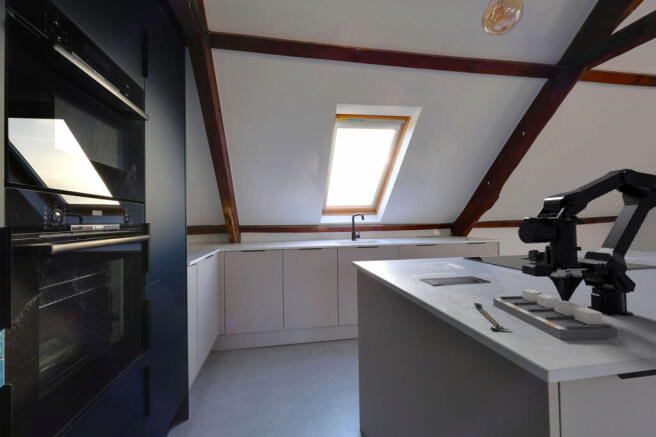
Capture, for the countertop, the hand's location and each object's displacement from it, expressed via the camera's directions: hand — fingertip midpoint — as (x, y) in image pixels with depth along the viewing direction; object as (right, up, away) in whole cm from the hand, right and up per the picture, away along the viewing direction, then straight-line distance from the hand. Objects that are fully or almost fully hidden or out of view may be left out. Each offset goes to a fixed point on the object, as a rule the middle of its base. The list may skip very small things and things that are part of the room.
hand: (565, 301), depth 77 cm
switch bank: (-7, -4, -3) cm, 9 cm away
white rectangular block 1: (-4, -1, +6) cm, 8 cm away
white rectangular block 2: (-5, -1, -6) cm, 8 cm away
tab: (-5, -1, 0) cm, 5 cm away
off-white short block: (-5, -1, -12) cm, 13 cm away
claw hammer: (-19, -5, -1) cm, 20 cm away
